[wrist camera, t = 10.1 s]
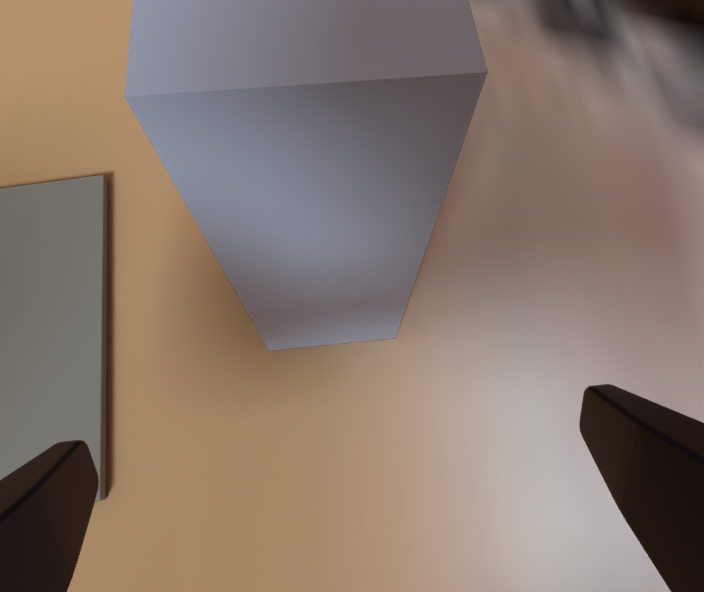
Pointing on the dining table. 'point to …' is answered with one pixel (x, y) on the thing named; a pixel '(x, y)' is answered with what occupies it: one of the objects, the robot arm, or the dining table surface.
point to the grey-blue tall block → (309, 146)
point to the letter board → (53, 319)
